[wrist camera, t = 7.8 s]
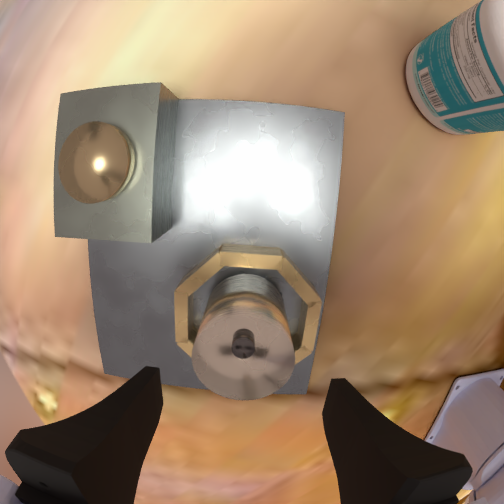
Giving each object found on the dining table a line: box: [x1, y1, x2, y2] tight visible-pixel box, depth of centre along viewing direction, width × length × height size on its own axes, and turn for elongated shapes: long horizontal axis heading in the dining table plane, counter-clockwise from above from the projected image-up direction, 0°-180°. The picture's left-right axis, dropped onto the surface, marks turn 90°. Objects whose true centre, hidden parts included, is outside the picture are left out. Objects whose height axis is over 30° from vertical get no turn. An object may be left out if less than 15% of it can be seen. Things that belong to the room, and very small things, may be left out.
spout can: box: [192, 274, 295, 400], centre depth 17 cm, size 5×5×7 cm
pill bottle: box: [406, 0, 504, 135], centre depth 11 cm, size 8×7×14 cm
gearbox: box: [54, 83, 345, 394], centre depth 17 cm, size 20×16×6 cm
